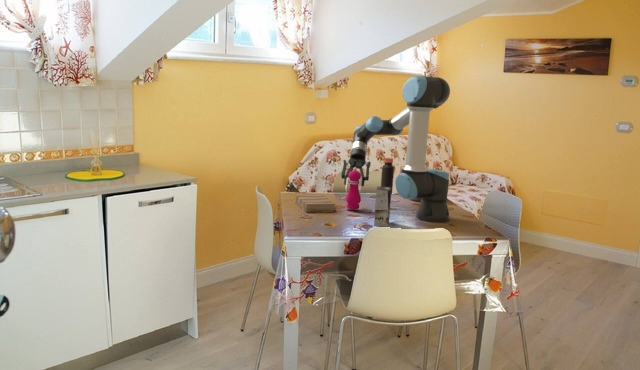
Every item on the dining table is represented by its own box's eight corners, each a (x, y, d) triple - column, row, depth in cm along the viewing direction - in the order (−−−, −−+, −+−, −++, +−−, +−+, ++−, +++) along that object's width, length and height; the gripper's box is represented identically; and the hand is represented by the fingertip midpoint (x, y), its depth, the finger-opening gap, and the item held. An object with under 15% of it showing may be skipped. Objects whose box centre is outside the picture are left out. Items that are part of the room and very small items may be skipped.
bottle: (394, 193, 303) (397, 158, 300) (385, 194, 299) (388, 159, 296) (386, 191, 309) (389, 157, 305) (377, 191, 305) (380, 157, 301)
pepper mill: (351, 210, 250) (353, 168, 246) (342, 207, 256) (344, 166, 252) (363, 209, 254) (365, 168, 250) (354, 205, 260) (356, 165, 256)
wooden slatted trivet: (334, 211, 250) (334, 203, 249) (306, 212, 246) (306, 204, 245) (322, 202, 269) (322, 194, 268) (295, 203, 265) (295, 195, 264)
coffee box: (388, 227, 227) (391, 190, 224) (373, 225, 228) (376, 189, 225) (389, 222, 236) (392, 186, 233) (375, 220, 237) (377, 185, 234)
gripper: (377, 158, 264) (372, 196, 251) (340, 156, 267) (333, 193, 254) (377, 149, 258) (372, 187, 245) (339, 146, 261) (332, 184, 248)
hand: (353, 190), depth 249 cm, fingers closed on pepper mill, 6 cm apart
